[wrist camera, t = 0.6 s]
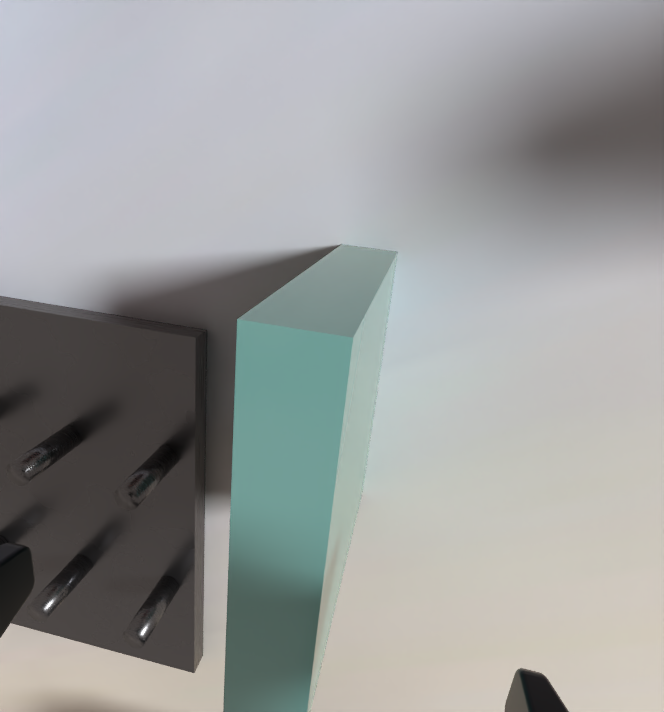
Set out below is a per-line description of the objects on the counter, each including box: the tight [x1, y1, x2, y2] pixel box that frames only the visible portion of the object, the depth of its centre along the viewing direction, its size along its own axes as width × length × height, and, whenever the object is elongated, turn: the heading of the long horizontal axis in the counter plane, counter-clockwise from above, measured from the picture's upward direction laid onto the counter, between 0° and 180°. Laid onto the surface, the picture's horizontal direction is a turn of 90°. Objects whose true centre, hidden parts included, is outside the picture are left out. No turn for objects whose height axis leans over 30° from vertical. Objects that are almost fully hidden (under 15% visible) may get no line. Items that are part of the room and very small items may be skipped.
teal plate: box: [223, 244, 398, 712], centre depth 15 cm, size 10×2×10 cm, turn 174°
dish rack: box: [0, 296, 207, 673], centre depth 22 cm, size 18×16×4 cm
